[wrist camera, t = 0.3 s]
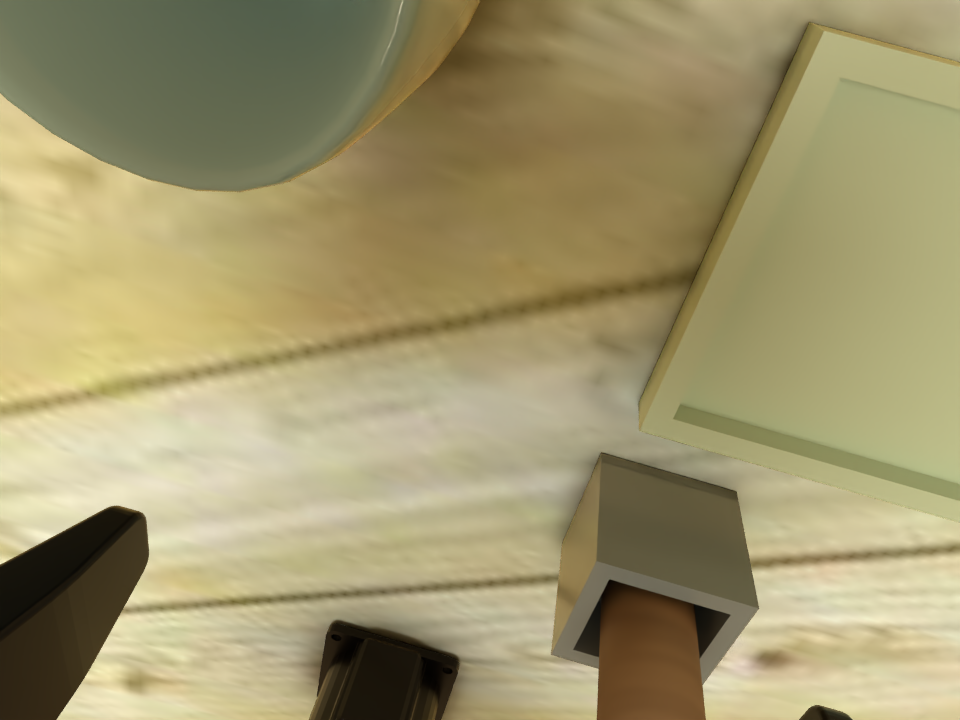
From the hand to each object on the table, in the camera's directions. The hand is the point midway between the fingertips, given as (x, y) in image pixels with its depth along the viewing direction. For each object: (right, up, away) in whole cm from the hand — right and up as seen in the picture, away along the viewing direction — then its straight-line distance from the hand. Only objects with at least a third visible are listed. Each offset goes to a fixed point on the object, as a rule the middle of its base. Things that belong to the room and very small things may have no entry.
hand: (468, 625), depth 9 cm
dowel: (+6, -3, +17) cm, 18 cm away
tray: (+14, +5, +11) cm, 18 cm away
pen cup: (+6, -3, +17) cm, 18 cm away
